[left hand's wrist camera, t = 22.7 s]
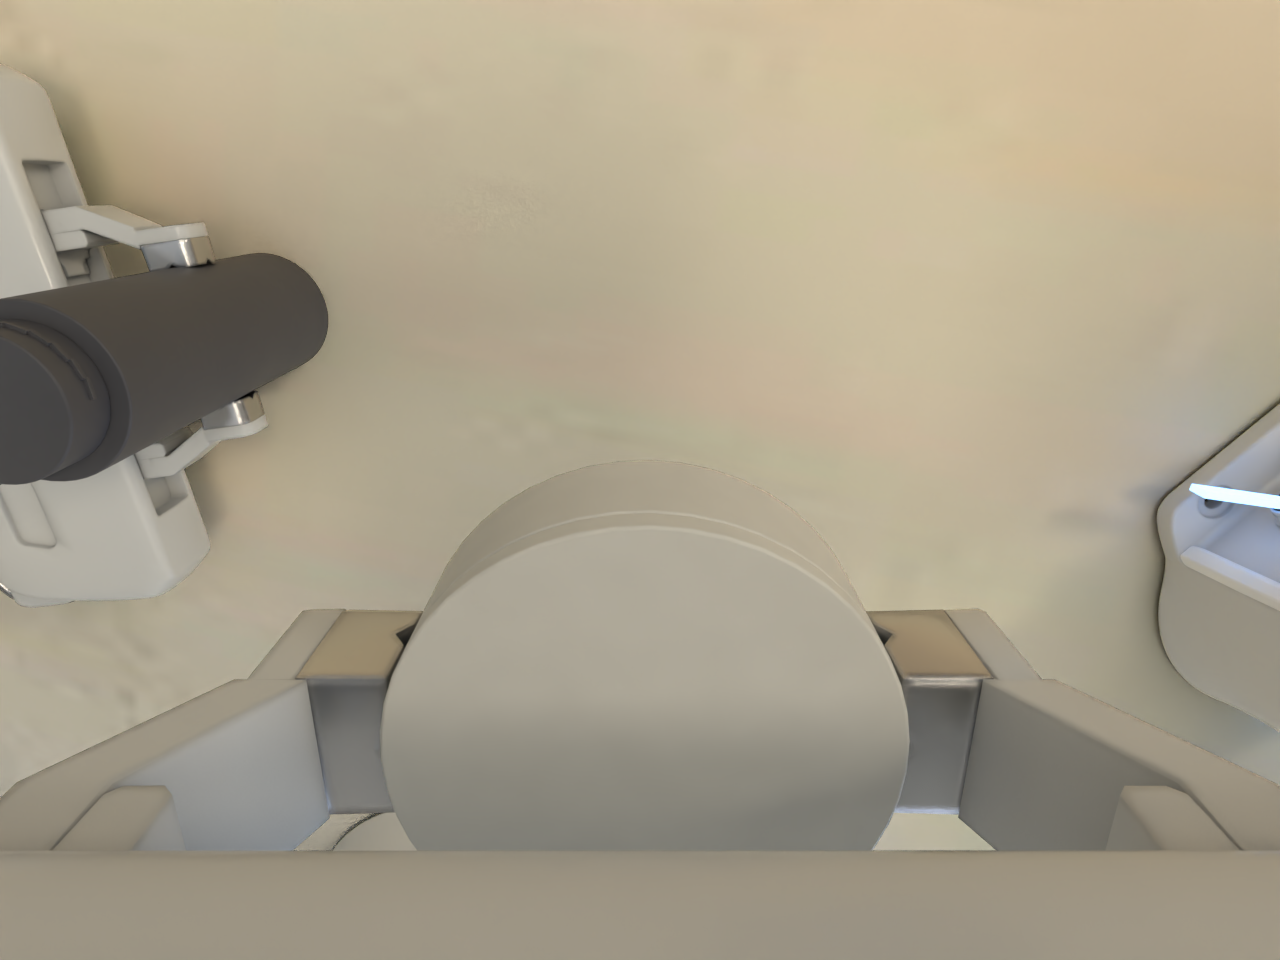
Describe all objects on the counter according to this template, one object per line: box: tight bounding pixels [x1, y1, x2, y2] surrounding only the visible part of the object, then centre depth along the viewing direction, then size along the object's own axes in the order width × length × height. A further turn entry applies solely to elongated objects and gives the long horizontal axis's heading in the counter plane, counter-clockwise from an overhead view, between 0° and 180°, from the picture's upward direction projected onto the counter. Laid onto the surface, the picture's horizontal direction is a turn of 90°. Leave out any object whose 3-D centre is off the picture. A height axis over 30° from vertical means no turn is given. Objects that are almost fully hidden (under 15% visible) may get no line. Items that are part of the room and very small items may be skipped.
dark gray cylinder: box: [0, 253, 328, 485], centre depth 28 cm, size 5×5×16 cm
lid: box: [380, 460, 910, 851], centre depth 9 cm, size 6×6×2 cm
